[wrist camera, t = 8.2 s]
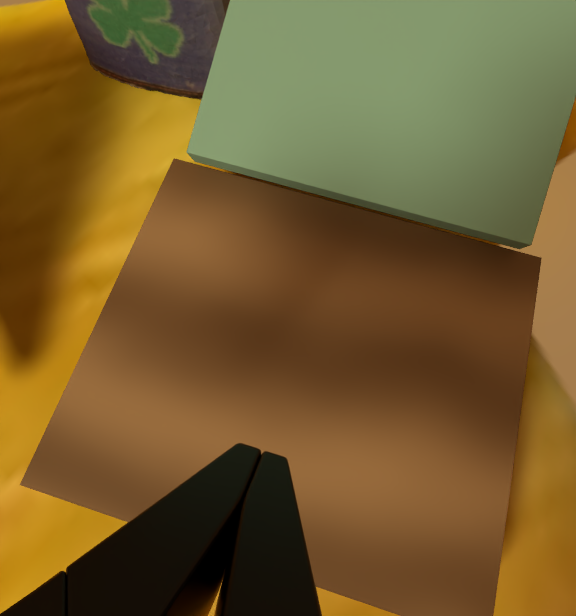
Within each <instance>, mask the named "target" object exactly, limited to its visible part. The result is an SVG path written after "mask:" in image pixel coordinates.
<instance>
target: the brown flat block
mask: <svg viewBox="0 0 576 616" xmlns="http://www.w3.org/2000/svg"><path fill="white" fill-rule="evenodd" d="M540 265H541V258H539V257H536V256H532V255H529V254H525V253H521V252H517V251H514V250H510V249H506V248H503V247H499V246H495V245H492V244H488V243H484V242H481V241H477V240H473V239H470V238H466V237H462V236H458V235H455V234H451V233H447V232H444V231H440V230H436V229H433V228H429V227H425V226H422V225H418V224H414V223H410V222H407V221H403V220H399V219H396V218H392V217H388V216H385V215H381V214H377V213H374V212H370V211H366V210H362V209H359V208H355V207H351V206H348V205H344V204H340V203H337V202H333V201H329V200H326V199H322V198H318V197H314V196H311V195H307V194H303V193H300V192H296V191H292V190H289V189H285V188H281V187H278V186H274V185H270V184H266V183H263V182H259V181H255V180H252V179H248V178H244V177H241V176H237V175H233V174H229V173H226V172H222V171H218V170H215V169H211V168H207V167H204V166H200V165H196V164H193V163H189V162H185V161H181V160H178V159H174V160H173V162H172V164H171V166H170V168H169V170H168V172H167V174H166V176H165V179H164V181H163V183H162V185H161V187H160V189H159V191H158V193H157V196H156V198H155V200H154V202H153V204H152V206H151V208H150V210H149V212H148V215H147V217H146V219H145V221H144V223H143V225H142V227H141V229H140V232H139V234H138V236H137V238H136V240H135V242H134V244H133V246H132V248H131V251H130V253H129V255H128V257H127V259H126V261H125V263H124V265H123V268H122V270H121V272H120V274H119V276H118V278H117V280H116V282H115V284H114V287H113V289H112V291H111V293H110V295H109V297H108V299H107V301H106V304H105V306H104V308H103V310H102V312H101V314H100V316H99V318H98V320H97V323H96V325H95V327H94V329H93V331H92V333H91V335H90V337H89V339H88V342H87V344H86V346H85V348H84V350H83V352H82V354H81V356H80V359H79V361H78V363H77V365H76V367H75V369H74V371H73V373H72V375H71V378H70V380H69V382H68V384H67V386H66V388H65V390H64V392H63V395H62V397H61V399H60V401H59V403H58V405H57V407H56V409H55V411H54V414H53V416H52V418H51V420H50V422H49V424H48V426H47V428H46V431H45V433H44V435H43V437H42V439H41V441H40V443H39V445H38V447H37V450H36V452H35V454H34V456H33V458H32V460H31V462H30V464H29V467H28V469H27V471H26V473H25V475H24V477H23V479H22V481H21V483H20V485H22V486H25V487H28V488H30V489H33V490H36V491H39V492H42V493H45V494H48V495H51V496H54V497H57V498H60V499H62V500H65V501H68V502H71V503H74V504H77V505H80V506H83V507H86V508H89V509H92V510H95V511H97V512H100V513H103V514H106V515H109V516H112V517H115V518H118V519H121V520H124V521H127V522H129V521H131V520H132V519H134V518H135V517H136V516H138V515H139V514H140V513H142V512H143V511H145V510H146V509H147V508H149V507H150V506H151V505H153V504H154V503H156V502H157V501H158V500H160V499H161V498H162V497H164V496H165V495H167V494H168V493H169V492H171V491H172V490H173V489H175V488H176V487H178V486H179V485H180V484H182V483H183V482H184V481H186V480H187V479H189V478H190V477H191V476H193V475H194V474H195V473H197V472H198V471H200V470H201V469H202V468H204V467H205V466H206V465H208V464H209V463H211V462H212V461H213V460H215V459H216V458H217V457H219V456H220V455H222V454H223V453H224V452H226V451H227V450H228V449H230V448H231V447H233V446H234V445H235V444H237V443H243V444H246V445H249V446H253V447H256V448H259V449H260V450H261V454H262V453H263V452H264V451H268V452H271V453H275V454H278V455H281V456H284V457H286V458H287V460H288V463H289V467H290V472H291V477H292V481H293V486H294V490H295V495H296V499H297V504H298V509H299V513H300V518H301V522H302V527H303V532H304V536H305V541H306V545H307V550H308V554H309V559H310V564H311V568H312V573H313V577H314V582H315V586H316V587H319V588H322V589H325V590H328V591H331V592H334V593H336V594H339V595H342V596H345V597H348V598H351V599H354V600H357V601H360V602H363V603H366V604H368V605H371V606H374V607H377V608H380V609H383V610H386V611H389V612H392V613H395V614H398V615H401V616H493V613H494V606H495V598H496V591H497V584H498V576H499V569H500V561H501V554H502V546H503V539H504V532H505V524H506V517H507V509H508V502H509V495H510V487H511V480H512V472H513V465H514V458H515V450H516V443H517V435H518V428H519V420H520V413H521V406H522V398H523V391H524V383H525V376H526V369H527V361H528V354H529V346H530V339H531V332H532V324H533V316H534V309H535V302H536V294H537V287H538V280H539V272H540Z"/></svg>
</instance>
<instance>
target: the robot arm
mask: <svg viewBox="0 0 576 616" xmlns="http://www.w3.org/2000/svg"><path fill="white" fill-rule="evenodd" d="M222 580H223V581H222ZM221 583H222V585H221ZM220 586H221V589H220V593H219V597H218V601H217V605H216V610H215V614H214V616H322V614H321V609H320V605H319V600H318V596H317V591H316V586H315V582H314V577H313V573H312V568H311V564H310V559H309V554H308V550H307V545H306V541H305V536H304V532H303V527H302V522H301V518H300V513H299V509H298V504H297V499H296V495H295V490H294V486H293V481H292V477H291V472H290V467H289V463H288V460H287V458H286V457H284V456H281V455H278V454H275V453H271V452H268V451H264V452H263V453H262V454H261V450H260V449H259V448H256V447H253V446H249V445H246V444H243V443H237V444H235V445H234V446H233V447H231V448H230V449H228V450H227V451H226V452H224V453H223V454H222V455H220V456H219V457H217V458H216V459H215V460H213V461H212V462H211V463H209V464H208V465H206V466H205V467H204V468H202V469H201V470H200V471H198V472H197V473H195V474H194V475H193V476H191V477H190V478H189V479H187V480H186V481H184V482H183V483H182V484H180V485H179V486H178V487H176V488H175V489H173V490H172V491H171V492H169V493H168V494H167V495H165V496H164V497H162V498H161V499H160V500H158V501H157V502H156V503H154V504H153V505H151V506H150V507H149V508H147V509H146V510H145V511H143V512H142V513H140V514H139V515H138V516H136V517H135V518H134V519H132V520H131V521H129V522H128V523H127V524H125V525H124V526H123V527H121V528H120V529H118V530H117V531H116V532H114V533H113V534H112V535H110V536H109V537H107V538H106V539H105V540H103V541H102V542H101V543H99V544H98V545H96V546H95V547H94V548H92V549H91V550H90V551H88V552H87V553H85V554H84V555H83V556H81V557H80V558H79V559H77V560H76V561H74V562H73V563H72V564H70V565H69V566H68V567H67V568H66V573H65V572H64V571H60V572H59V573H57V574H56V575H55V576H53V577H52V578H51V579H49V580H48V581H47V582H45V583H44V584H42V585H41V586H40V587H38V588H37V589H36V590H34V591H33V592H31V593H30V594H28V595H27V596H26V597H24V598H23V599H21V600H20V601H18V602H17V603H15V604H14V605H13V606H11V607H10V608H8V609H7V610H5V611H4V612H2V613H1V614H0V616H208V614H209V611H210V609H211V607H212V605H213V603H214V600H215V598H216V596H217V593H218V591H219V588H220Z"/></svg>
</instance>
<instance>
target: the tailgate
mask: <svg viewBox="0 0 576 616" xmlns="http://www.w3.org/2000/svg"><path fill="white" fill-rule="evenodd" d="M575 97H576V0H230V2H229V6H228V9H227V13H226V16H225V20H224V23H223V27H222V30H221V34H220V37H219V41H218V44H217V48H216V51H215V55H214V58H213V62H212V65H211V69H210V72H209V76H208V79H207V83H206V86H205V90H204V93H203V97H202V100H201V104H200V107H199V111H198V114H197V118H196V121H195V125H194V128H193V132H192V135H191V139H190V142H189V146H188V149H187V153H188V154H189V156H190V157H191V158H192V159H193V160H194V161H195V162H199V163H203V164H206V165H210V166H214V167H217V168H221V169H225V170H229V171H232V172H236V173H240V174H243V175H247V176H251V177H254V178H258V179H262V180H266V181H269V182H273V183H277V184H280V185H284V186H288V187H291V188H295V189H299V190H303V191H306V192H310V193H314V194H317V195H321V196H325V197H328V198H332V199H336V200H340V201H343V202H347V203H351V204H354V205H358V206H362V207H365V208H369V209H373V210H377V211H380V212H384V213H388V214H391V215H395V216H399V217H402V218H406V219H410V220H414V221H417V222H421V223H425V224H428V225H432V226H436V227H439V228H443V229H447V230H451V231H454V232H458V233H462V234H465V235H469V236H473V237H476V238H480V239H484V240H488V241H491V242H495V243H499V244H502V245H506V246H510V247H513V248H517V249H521V248H524V247H527V246H530V245H531V244H532V241H533V237H534V234H535V231H536V227H537V224H538V221H539V217H540V214H541V211H542V207H543V204H544V200H545V197H546V194H547V190H548V187H549V184H550V180H551V177H552V174H553V171H554V167H555V164H556V161H557V157H558V154H559V151H560V147H561V144H562V141H563V137H564V134H565V130H566V127H567V124H568V120H569V117H570V114H571V110H572V107H573V104H574V100H575Z"/></svg>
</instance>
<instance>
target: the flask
mask: <svg viewBox="0 0 576 616" xmlns="http://www.w3.org/2000/svg"><path fill="white" fill-rule="evenodd" d="M65 2H66V5H67V8H68V11H69V14H70V16H71V18H72V20H73V22H74V24H75V27H76V29H77V32H78V34H79V36H80V39H81V41H82V43H83V45H84V48H85V50H86V53H87V56H88V58H89V61H90V65H91V66H92V67H93V68H94V69H95V70H96V71H99V72H100V73H101V74H103V75H105V76H107V77H109V78H113V79H115V80H118V81H120V82H122V83H127V84H129V85H130V86H134V87H137V88H144V89H146V90H150V91H151V90H155V91H159V92H163V93H167V94H172V95H178V96H184V97H189V98H191V97H192V98H198V99H201V100H202V97H203V93H204V90H205V86H206V83H207V79H208V76H209V72H210V69H211V65H212V62H213V58H214V55H215V51H216V48H217V44H218V41H219V37H220V34H221V30H222V27H223V23H224V20H225V16H226V13H227V9H228V6H229V2H230V0H65Z"/></svg>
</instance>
